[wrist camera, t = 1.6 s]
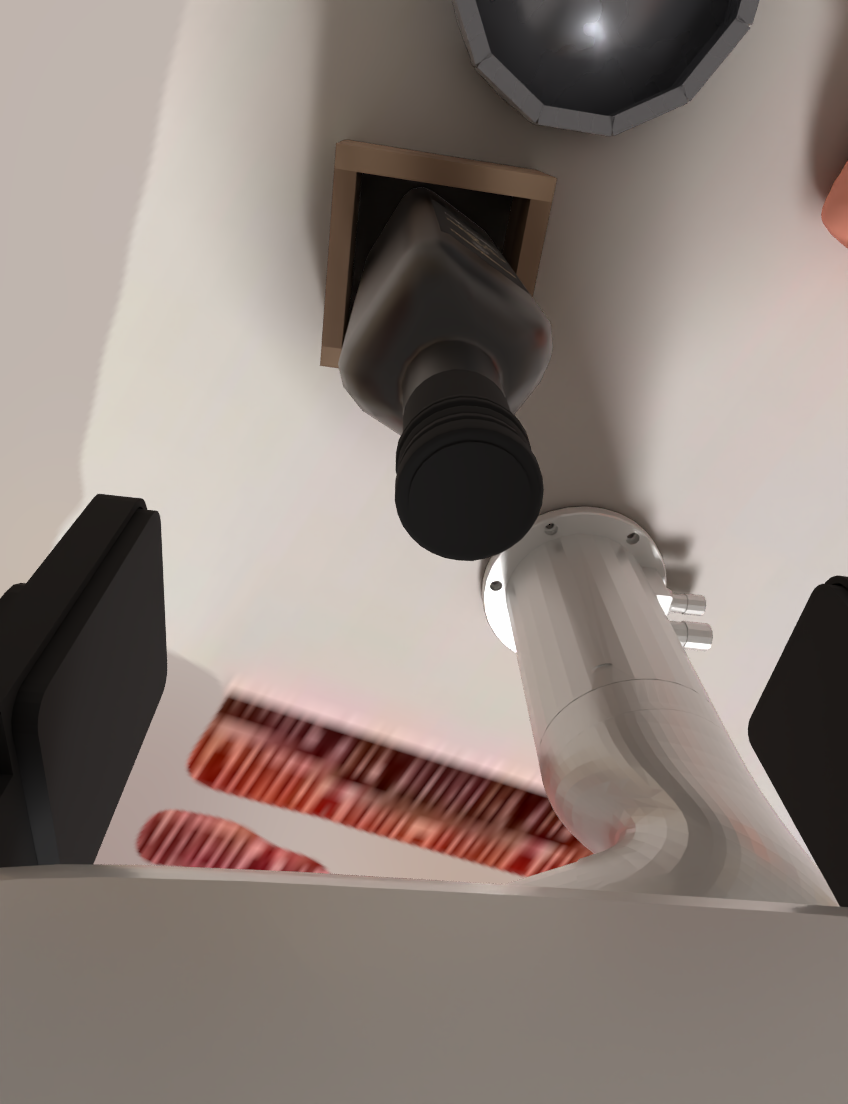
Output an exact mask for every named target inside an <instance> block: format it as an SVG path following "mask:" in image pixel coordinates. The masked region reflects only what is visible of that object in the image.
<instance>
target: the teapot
mask: <svg viewBox="0 0 848 1104" xmlns="http://www.w3.org/2000/svg"><path fill="white" fill-rule="evenodd" d="M821 216H822V221H823V224H824V225H825V227H826V228H827V229H828V231H829V232H830V234H831V235H832V236H834V237H835V238H836V239H837V240H838V241H839V242H840V243H842V244H843V245H844V246H845V247H846V248H848V161H847V162H846V164H845V166H844V167H843V169H842V171H841V172H840V174H839V176H838V177H837V178H836V179H835V181H834V182H833V184H832V187H831V190H830V192H829V194H828V196H827V198H826V201H825V203H824V206H823V208H822V214H821Z"/></svg>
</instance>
